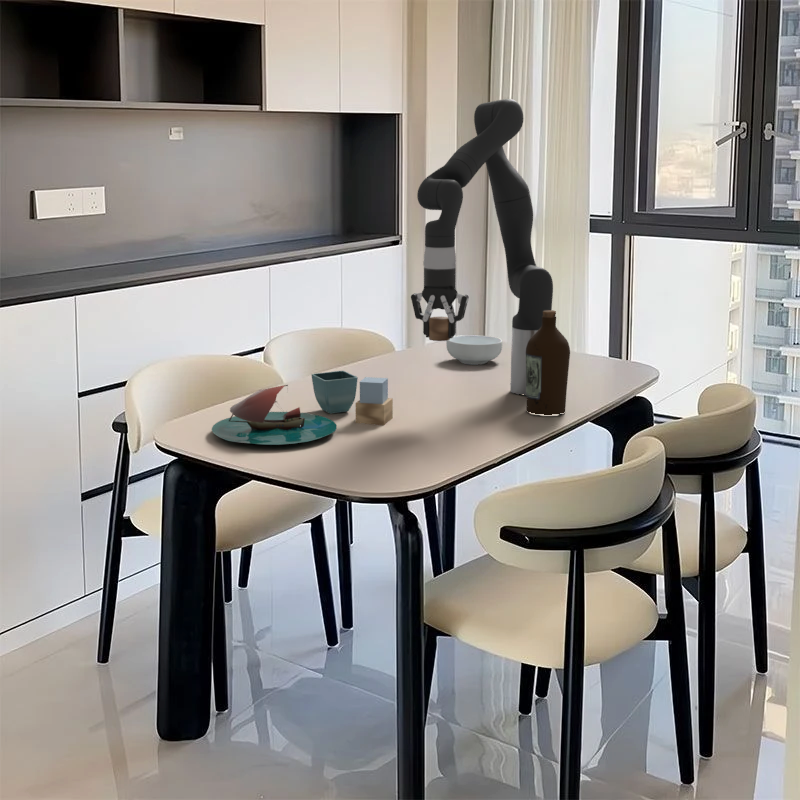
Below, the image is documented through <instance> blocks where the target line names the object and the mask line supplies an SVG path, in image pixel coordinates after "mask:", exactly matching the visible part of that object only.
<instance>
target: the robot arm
mask: <svg viewBox="0 0 800 800" xmlns="http://www.w3.org/2000/svg"><path fill="white" fill-rule="evenodd" d="M473 121H474V123H473V124H474V127H475V128H474V129H475V133H476V136H475V137H473V138H472V139H470V140H469V141H467V142H466V143H464V144H463V145H462V146H460V147H459V148H458V149H457V150H456V151H455V152H454V153H453V154H452V156H451V157H450V158H449V159H448V160H447V161H446V163H445V164H444V165H443V166H441V167H439V168H438V169H437V170H435V171H434V172H432V173H431V174H429V175H428V176H427V177H426V178H425V179H423V180H422V181H421V183H420V184H419V187H418V190H417V192H416V193H417V194H416V195H417V197H416V198H417V201H418V204H419V205H420V207H422V208H423V209H424V210H425V209H426V210H430V211H441V212H440V215H439V218H438V219H435V220H430V221H428V222H426V223H425V228H424V254H423V261H422V262H423V264H422V265H423V289H422V290H421V292H418V293H417V292H416V293H413V294H411V296H410V300H411V303H412V308H413V313H414V317H415V319H417V320H420V321H422V322H423V323H422V324H423V328H422V329H423V331H422V332H423V335H425V338H429V318H430V317H432V314H433V312H434V310H437V309H438V310H439V309H440V310H444V312H445V314H446V317H448V319H449V321H450V323H449V338H453V336H456V334H457V322H459V321H462V320H463V319H464V318H465V314H466V310H467V306H468V302H469V295H467V294H462V293H461V294H460V293H458V291H457V286H456V285H457V284H456V283H457V282H456V281H457V275H456V274H457V253H456V227H457V223H458V218H459V215H460V212H461V208H462V204H463V199H464V191H463V189H464V188H465V187H466V186H467V185H468V184H469V183H470V182H471V180H472V179H473V178H474V177H475V175H476V174H477V173H478V172H479V170H480V169H481V168H482V167H483V165H484V164H485V166H486V170H487V174H488V179H489V183H490V187H491V192H492V198H493V203H494V209H495V212H496V218H497V220H498V221H497V222H498V226H499V230H500V235H501V240H502V244H503V246H504V247H503V248H504V253H505V261H506V271H507V272H506V273H507V279H508V280H507V281H508V286H509V289H510V291H511V293H512V294H513V296H515V297H516V298H518V299H519V300H518V310H517V312H516V314H515V315H513V317H512V321H511V324H512V325H511V354H510V355H511V358H510V384H509V385H510V390H509V391H510V393H512V394H514V393H516V394H515V395H519V394H524V395H523V396H526V347H527V344H528V341H529V339H530V338H531V337H532V336H533V335H534V334H535V333H536V332H537V331H538V330H539V329H540V328H541V326H542V316H543V311H544V310H552V309H553V308H552V307H553V295H554V283H553V282H554V281H553V276H552V275H551V274H550V272H549V271H548V270H546V268H543V267H540V266H537V264H536V261H535V257H534V253H533V248H532V239H531V238H532V232H533V225H534V207H533V203H532V202H533V201H532V198H531V194H530V193H531V192H530V189H529V185H528V184H527V183H526V181H525V180H524V178H523V177H522V175H521V174H520V173H519V172H518V171H517V169H516V168H515V167H514V166H513V164H512V163H511V162H510V161H509V158H508V157H507V155H506V152H505V149H504V147H503V146H505V144H507V143H508V142H509V141H511V139H513V138H514V137H516V136H517V135H518V133H520V131H521V130H522V127H523V124H524V112H523V108H522V106H521V105H520V103H519V102H518V101H517V100H515V99H511V98H504V99H498V100H493V101H487V102H482V103H480V104H478V105H477V107H476V108H475V111H474V115H473ZM422 298H423V299H424V301H425V302H426V306H425V307H426V308H425V310H424V313H423V309H422V305H421V302H422ZM456 299H457V303H458V305H459V306H458V307H459V308H458V312H457V315H456V312H455V309H454V305H453V304H454V301H455V300H456Z"/></svg>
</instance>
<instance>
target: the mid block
mask: <svg viewBox="0 0 800 800" xmlns="http://www.w3.org/2000/svg"><path fill="white" fill-rule="evenodd" d="M388 393H389V378H388V377H373V376H365V377H364V378H362V379H361V380H360V381H359V400H360V403H372V404H383V403H384V402H385V401H386V400H387V399H388V398H389V394H388Z"/></svg>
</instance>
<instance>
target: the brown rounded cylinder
mask: <svg viewBox="0 0 800 800" xmlns="http://www.w3.org/2000/svg"><path fill="white" fill-rule="evenodd" d="M449 323H450V321H449V319H448V316H431V317H430V318H429V337H428V339H429V340H430V341H434V342H446V341H447V340H450V338H449Z"/></svg>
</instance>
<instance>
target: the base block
mask: <svg viewBox="0 0 800 800" xmlns="http://www.w3.org/2000/svg"><path fill="white" fill-rule="evenodd" d="M393 401H394V399H393V398H391V397H388V399H387V400H386V401H385V402H384V403H383V404H372V403H360V399H359V400H358V401H356V402H355V424H361V423H365V424H364V425H374V424H375V426H377V425H378V426H385V425H387V423H388V422H390V421H391V420H392V419H393V414H394V412H393V411H394V409H393V408H394V407H393V405H394V404H393V403H394V402H393Z"/></svg>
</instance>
